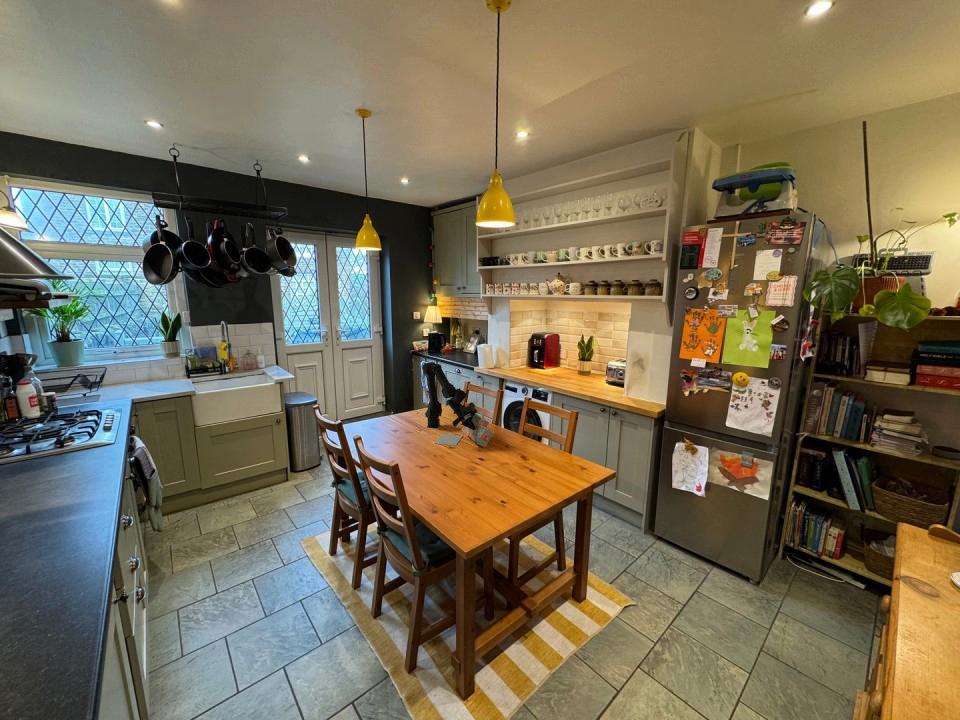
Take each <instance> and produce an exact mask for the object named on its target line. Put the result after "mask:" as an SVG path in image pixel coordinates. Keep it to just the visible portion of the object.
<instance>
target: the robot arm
mask: <svg viewBox="0 0 960 720" xmlns="http://www.w3.org/2000/svg"><path fill="white" fill-rule="evenodd" d="M421 370H422V372H423V375H424V376H425V378H426V383H427V391H428V398H429V399H428V400H429V402H428V404H427V409H426V411H425V412H424V416H425V418H427V425H426V428H429V429H437V428H439V427H440V425H441V418H440V417H442V413H443V407H442V403H441V402H439V400H438V392H437V385H436V384H437V383H436V379H437V382H439V384H440V386H441V394H442V396H443V399H447V400H446V406H449V407H450V408H451V409H452V411H453V414H454V415H456V416H457V417H456V418H455V419H454V420H452V422H451V423H452V426H453V427H454V428H456V427H457V426H458V425H459V424H460V426H462V427H464V426H466V427H468V428H470V429H472V430H475V426H474V423H473V420H472V418H473V415H474V414H477V413H478V412H479V410H477V409H476V404H475V403H474V402H468V405H465V404H462V403H463V401H465V399H466V398H467V393H466V391H465V390H462V389H461V388H456V387H455V386H454V384H452V383H450V381H449V379H448V378H447V376H446V374H445V372H444V370H443V367H442V365H441V364H439V363H435V362H434V361H430V362H429V361H428V362H424V363H423V364H422V366H421Z"/></svg>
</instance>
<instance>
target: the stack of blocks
mask: <svg viewBox="0 0 960 720" xmlns="http://www.w3.org/2000/svg"><path fill="white" fill-rule="evenodd" d="M472 420H473V423H474V426H475V430H472V429H470V428H468V427H466V426H462V428H461V431H462V432H463V433H464V434H465V435H466V436H468V437H469V438H470V439H471V440H472V441H473V442H475V443H476V444H477V445H479V446H481V447H483V448H487V445H488V444H489V443H490V442H489V441H490V440H491V439H492V437H493V435H494V433H495V432H493V431H492V430H491V429H490V428H488V426H489V423H490V422H489V421H487V419H485V418H483V417H482V416H481V415H479V414H477V413H476V414H474V415H473V418H472Z"/></svg>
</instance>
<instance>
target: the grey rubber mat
mask: <svg viewBox="0 0 960 720" xmlns="http://www.w3.org/2000/svg"><path fill="white" fill-rule="evenodd" d="M462 438H463V435H458V434H450V433H449V434H448V433H442V434H441V435H440V436H439V438H438V439H437V440H436V441H435V442H434V444H435V445H441V444H442V445H443V446H452V447H454V446H455V447H456V446H457V445H458V444H459V442H460V441H461V440H462Z"/></svg>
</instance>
